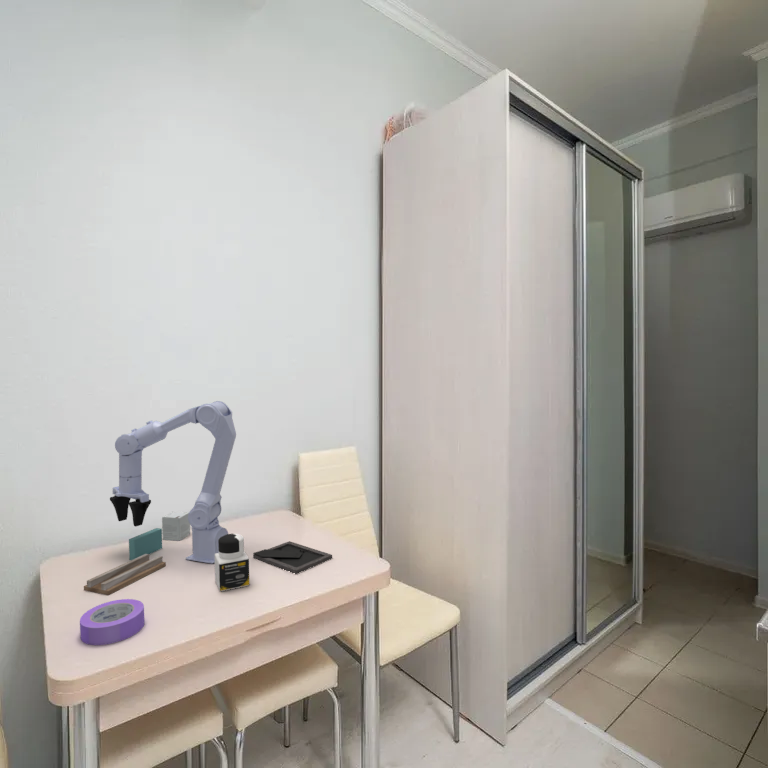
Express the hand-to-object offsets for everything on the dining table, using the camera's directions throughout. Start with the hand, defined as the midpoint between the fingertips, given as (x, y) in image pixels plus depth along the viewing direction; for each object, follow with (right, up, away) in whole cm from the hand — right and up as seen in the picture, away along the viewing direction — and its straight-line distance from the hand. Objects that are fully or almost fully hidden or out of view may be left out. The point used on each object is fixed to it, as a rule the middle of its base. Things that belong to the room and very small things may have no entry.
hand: (130, 522), depth 141 cm
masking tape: (+16, -12, -38) cm, 43 cm away
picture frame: (+47, -10, -2) cm, 48 cm away
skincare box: (+6, -9, +16) cm, 20 cm away
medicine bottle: (+34, -10, -17) cm, 40 cm away
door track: (+6, -10, -13) cm, 18 cm away
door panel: (+3, -10, +3) cm, 11 cm away
